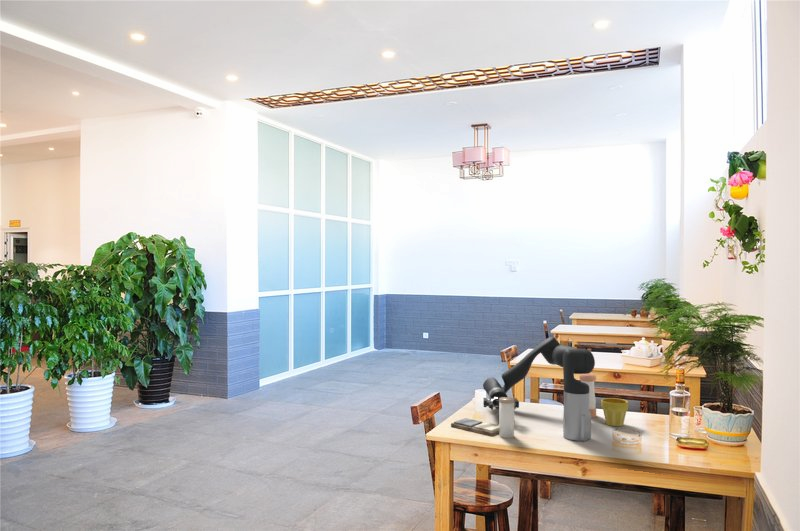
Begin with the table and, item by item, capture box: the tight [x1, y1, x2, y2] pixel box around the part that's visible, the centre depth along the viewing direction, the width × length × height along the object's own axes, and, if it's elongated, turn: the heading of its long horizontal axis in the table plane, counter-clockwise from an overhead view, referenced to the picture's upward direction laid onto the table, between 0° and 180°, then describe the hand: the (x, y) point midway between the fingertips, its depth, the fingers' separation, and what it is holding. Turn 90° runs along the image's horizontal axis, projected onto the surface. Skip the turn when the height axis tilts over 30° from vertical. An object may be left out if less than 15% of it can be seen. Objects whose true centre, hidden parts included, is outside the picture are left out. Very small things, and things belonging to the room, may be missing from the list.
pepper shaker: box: [578, 372, 597, 419], centre depth 251 cm, size 7×7×19 cm
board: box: [450, 417, 499, 437], centre depth 229 cm, size 19×10×2 cm, turn 49°
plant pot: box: [600, 397, 629, 427], centre depth 237 cm, size 10×10×10 cm
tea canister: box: [498, 397, 515, 439], centre depth 220 cm, size 6×6×14 cm
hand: (502, 407), depth 231 cm, fingers open, 8 cm apart
